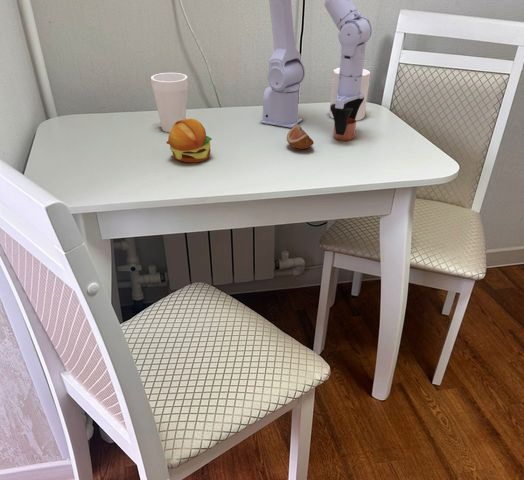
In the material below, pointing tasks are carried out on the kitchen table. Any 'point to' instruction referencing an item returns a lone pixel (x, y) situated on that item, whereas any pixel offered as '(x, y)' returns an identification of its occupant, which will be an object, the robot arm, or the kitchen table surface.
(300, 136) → the fruit slice
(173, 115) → the foam cup
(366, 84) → the toilet paper
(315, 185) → the kitchen table surface
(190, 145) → the cheeseburger
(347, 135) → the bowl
